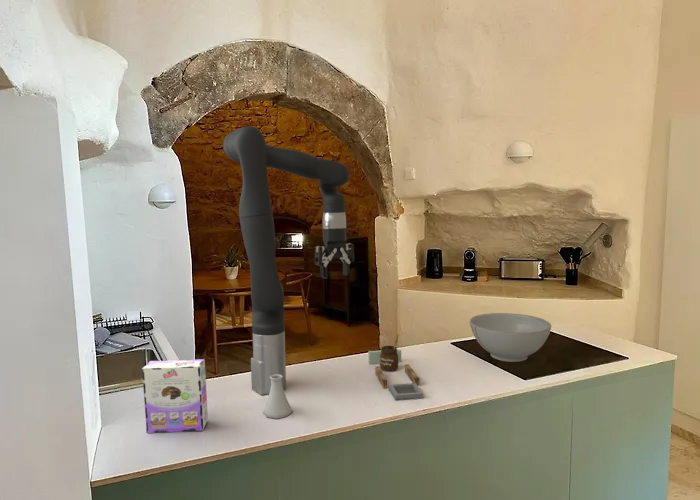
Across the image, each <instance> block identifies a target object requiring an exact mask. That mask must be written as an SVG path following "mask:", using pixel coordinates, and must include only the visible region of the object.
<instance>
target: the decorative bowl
mask: <svg viewBox="0 0 700 500" xmlns="http://www.w3.org/2000/svg"><path fill="white" fill-rule="evenodd" d="M469 326H470V329H471V332H472V335H473V337H474V338H475V341H477V343H478V344H479V346H481V347H482V349H484V350H485V351H487V352H488V353H490V356H491V358H493V359H495V360H499V361H502V362H508V363H509V362H510V363H514V362H515V363H516V362H517V363H518V362H524V361H526V360H527V359H528V357H529V356H531V355H533V354H534V353H537V352H538V351H539V350H540V348H542V347H543V345H544V344H545V342H546V341H547V339H548V337H549V335H550V332H551V329H552V324H551V322H549V321H547V320H545V319H543V318H540V317H537V316H533V315H528V314H520V313H512V312H511V313H509V312H506V313H505V312H493V313H492V312H491V313H483V314H478V315H475V316H472V317H471V318H470V319H469Z"/></svg>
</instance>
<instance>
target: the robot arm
mask: <svg viewBox="0 0 700 500" xmlns="http://www.w3.org/2000/svg"><path fill="white" fill-rule="evenodd" d="M222 145H223V152H224V153H225V155H226V156H227V157H228V158H229V159H230V160H231V161H233V162H236V163H240V167H241V173H242V186H241V192H240V194H241V195H240V199H239V204H238V214H239V215H238V217H239V223H240V230H241V234H242V240H243V244H244V248H245V252H246V256H247V258H248V259H247V260H248V264H249V270H250V271H249V274H250V299H251V313H252V314H251V318H252V319H251V322H252V323H251V325H252V328H251V330H252V350H253V351H252V353H253V356H252V357H251V358H250V372H251V373H250V376H251V379H250V380H251V381H250V382H251V390H252V391H255V392H256V393H257V394H259V395H261V396H263V395H269V393H270V389H271V379H270V376H272V375H276V374H278V375H282V376H283V379H282V386H283V390H284V391H285V390H286V389H287V372H286V371H287V370H286V368H287V367H286V336H285V335H286V333H285V332H286V331H285V329H286V328H285V307H284V306H285V305H284V302H285V301H284V300H285V299H284V295H285V293H284V287H283V284H282V282H281V280H280V277H279V271H278V266H277V261H276V260H277V259H276V230H275V223H274V222H275V220H274V215H273V208H272V202H271V194H270V187H269V186H270V185H269V180H268V179H269V178H268V168H271V169H274V170H275V169H276V170H279V171H283V172H286V173H290V174H292V175H295V176H297V177H298V176H299V177H301V178H305V179H310V180H318V185H319V191H320V193H321V194H320V195H321V198H322V241H323V246H320V245H316V246H315V247H314V265H315V266H319V267H320V277H321V279H324V280H325V279H328V264H329V263H330V262H331V261H332V260H334V259H335V260H336V259H339V260H341V262H342V275H343V276H349V274H350V272H351V271H350V264H351V263H352V262H355V259H356V258H355V244H354V243H352V242H349V243H348V242H347V243H346V241H347V216H346V199H345V196H344V195H343V194H342V193H341V192H339V188H338V187H339V186H343V185H345V184H346V183H347V182H348V180H349V179H350V171H349V168H348V167H347V166H346V165H345V164H343V163H341V162H339V161H335V160H330V159H326V158H325V159H324V158H320V157H317V156H314V155H312V154H310V153H306V152H303V151H300V150H296V149H295V150H294V149H290V148H283V147H277V146H272V145H269V144H266V139H265V136H264V135H263V133H262V132H261V130H259V128H257V127H255V126H253V125H247V126H244V127H241V128H238V129H234V130H233V131H231V132H229V133H228V134H227V135H226V136H225V138H224V139H223V143H222Z"/></svg>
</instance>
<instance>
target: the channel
mask: <svg viewBox="0 0 700 500" xmlns="http://www.w3.org/2000/svg"><path fill="white" fill-rule="evenodd" d="M374 369H375V371H374V372H375V373H374V374H375V376H376V378H377V379H378V381H379V383H380V385H381V387H382V389H388V379H387V377H386V375H385V373H384V372H383V370H381V368H380V365H377V366H375V368H374ZM404 373H405V374H406V376H407V377H408V378H409V380H410V381H411V383H416V384H417V386H418V387H420V377H419V376H418V375H417V373H416V372H415V370H414V369H413V368H412V367H411V365H410V364H408V363H407V364H404Z"/></svg>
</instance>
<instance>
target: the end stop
mask: <svg viewBox="0 0 700 500" xmlns="http://www.w3.org/2000/svg"><path fill="white" fill-rule="evenodd" d="M367 353H368V354H367V355H368V360H367V361H368V365H377V364H379V365H380V354H381V349H380V350H368V352H367ZM397 354H398V363H402V349H399V348H397Z"/></svg>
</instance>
